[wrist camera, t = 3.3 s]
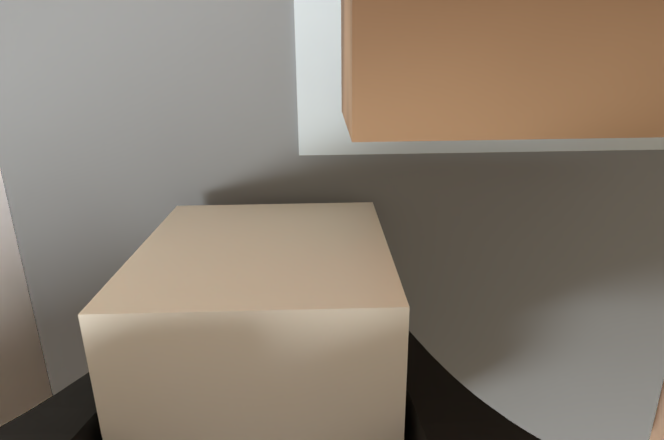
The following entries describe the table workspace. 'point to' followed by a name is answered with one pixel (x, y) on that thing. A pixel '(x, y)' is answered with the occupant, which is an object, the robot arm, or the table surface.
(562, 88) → the walnut block
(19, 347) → the table surface
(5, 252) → the table surface
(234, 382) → the cream block
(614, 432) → the gray mat
